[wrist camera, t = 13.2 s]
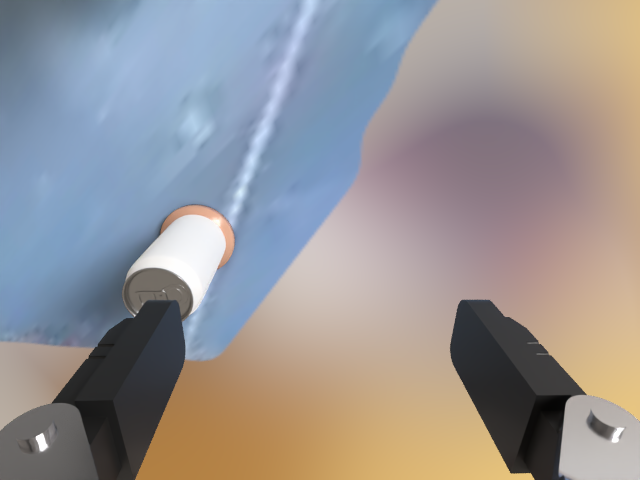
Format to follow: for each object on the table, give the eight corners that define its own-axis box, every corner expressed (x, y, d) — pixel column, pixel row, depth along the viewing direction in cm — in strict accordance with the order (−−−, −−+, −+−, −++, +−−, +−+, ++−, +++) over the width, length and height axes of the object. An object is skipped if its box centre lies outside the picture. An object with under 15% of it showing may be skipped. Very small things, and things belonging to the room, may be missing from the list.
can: (232, 262, 42) (207, 326, 31) (176, 269, 42) (131, 336, 31) (219, 209, 40) (186, 258, 29) (159, 217, 40) (104, 268, 29)
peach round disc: (157, 204, 40) (155, 206, 39) (232, 204, 40) (231, 207, 40) (168, 269, 43) (165, 273, 42) (237, 269, 43) (236, 273, 43)
